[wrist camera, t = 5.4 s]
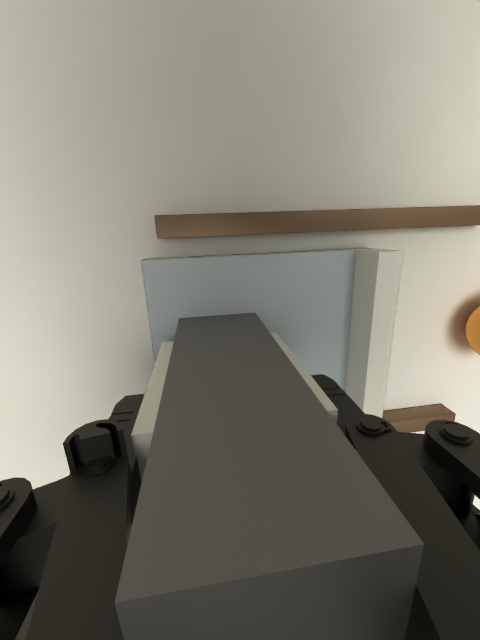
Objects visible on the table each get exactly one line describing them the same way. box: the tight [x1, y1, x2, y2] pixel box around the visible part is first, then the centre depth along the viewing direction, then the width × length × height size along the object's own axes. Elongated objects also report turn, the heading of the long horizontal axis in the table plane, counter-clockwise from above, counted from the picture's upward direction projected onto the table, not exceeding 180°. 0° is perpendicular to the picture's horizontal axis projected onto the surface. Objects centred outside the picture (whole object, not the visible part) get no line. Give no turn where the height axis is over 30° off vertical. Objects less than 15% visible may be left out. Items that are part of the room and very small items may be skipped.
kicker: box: [115, 248, 424, 640], centre depth 11 cm, size 10×12×13 cm
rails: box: [155, 205, 480, 433], centre depth 17 cm, size 14×18×1 cm
